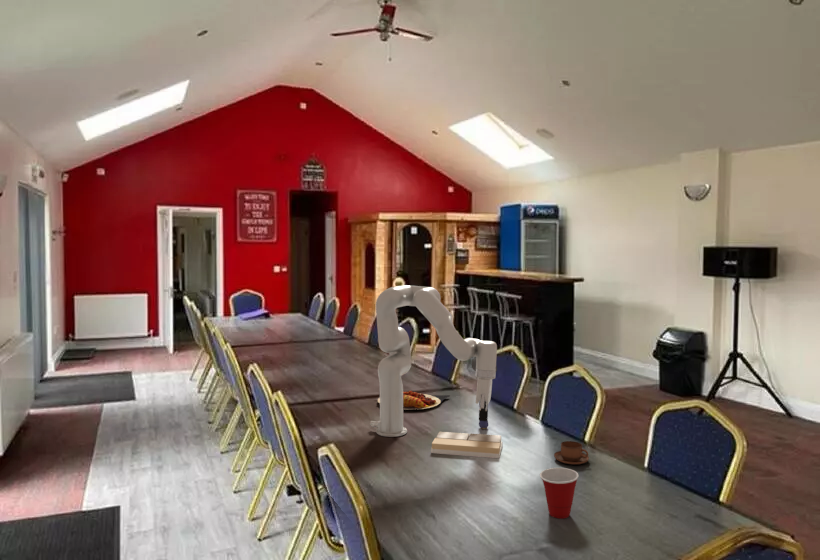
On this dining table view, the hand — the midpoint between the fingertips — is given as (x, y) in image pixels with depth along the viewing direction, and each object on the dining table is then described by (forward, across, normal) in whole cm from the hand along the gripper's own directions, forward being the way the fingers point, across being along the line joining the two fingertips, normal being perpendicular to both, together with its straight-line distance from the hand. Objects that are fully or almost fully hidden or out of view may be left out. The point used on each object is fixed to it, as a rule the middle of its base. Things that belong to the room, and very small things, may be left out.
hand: (483, 420), depth 239 cm
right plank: (+7, +4, +1) cm, 8 cm away
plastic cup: (+8, +56, +29) cm, 64 cm away
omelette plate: (+12, -54, -41) cm, 69 cm away
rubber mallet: (+10, -20, -2) cm, 22 cm away
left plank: (+8, +4, -11) cm, 14 cm away
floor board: (+10, +7, -4) cm, 13 cm away
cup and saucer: (+8, +11, +33) cm, 36 cm away
